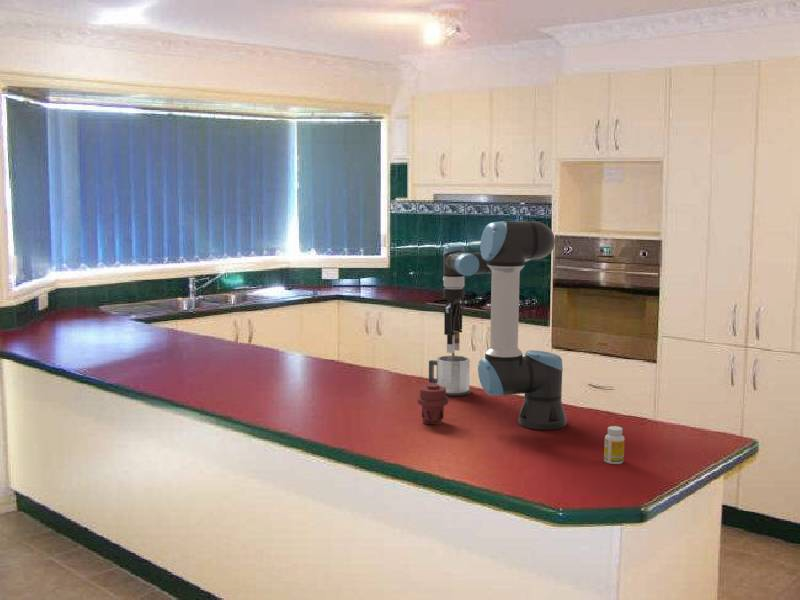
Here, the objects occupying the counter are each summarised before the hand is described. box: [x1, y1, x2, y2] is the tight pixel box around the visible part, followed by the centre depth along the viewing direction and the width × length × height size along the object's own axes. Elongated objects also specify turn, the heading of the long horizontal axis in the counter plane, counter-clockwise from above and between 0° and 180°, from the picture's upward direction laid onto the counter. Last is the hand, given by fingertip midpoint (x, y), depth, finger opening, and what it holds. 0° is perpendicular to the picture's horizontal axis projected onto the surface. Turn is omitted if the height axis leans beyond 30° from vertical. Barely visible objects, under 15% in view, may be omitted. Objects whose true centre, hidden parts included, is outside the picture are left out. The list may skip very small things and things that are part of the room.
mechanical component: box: [416, 383, 450, 425], centre depth 286 cm, size 12×10×10 cm
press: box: [428, 355, 472, 398], centre depth 326 cm, size 16×13×12 cm
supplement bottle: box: [603, 425, 626, 465], centre depth 248 cm, size 5×5×10 cm
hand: (453, 351), depth 325 cm, fingers closed on plunger, 4 cm apart
